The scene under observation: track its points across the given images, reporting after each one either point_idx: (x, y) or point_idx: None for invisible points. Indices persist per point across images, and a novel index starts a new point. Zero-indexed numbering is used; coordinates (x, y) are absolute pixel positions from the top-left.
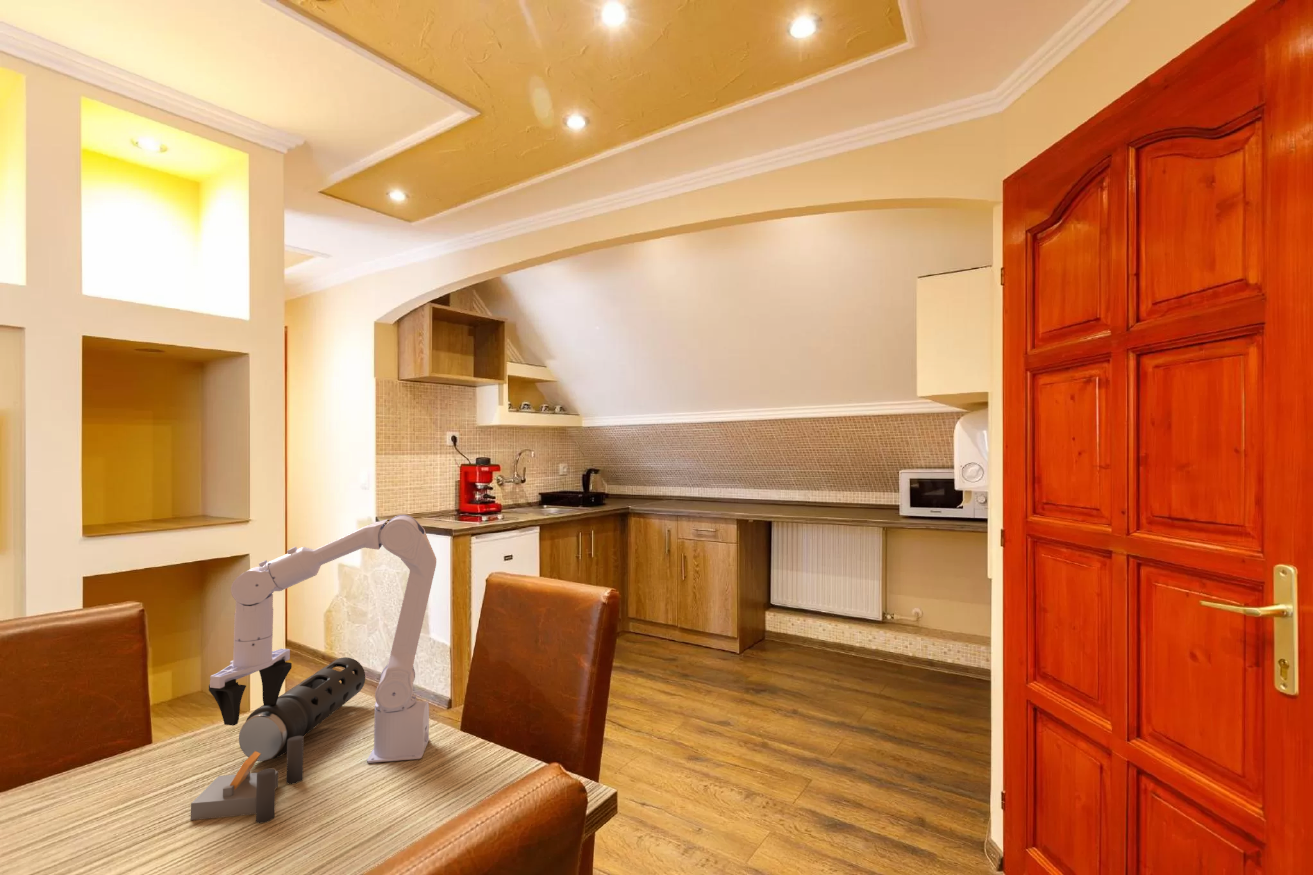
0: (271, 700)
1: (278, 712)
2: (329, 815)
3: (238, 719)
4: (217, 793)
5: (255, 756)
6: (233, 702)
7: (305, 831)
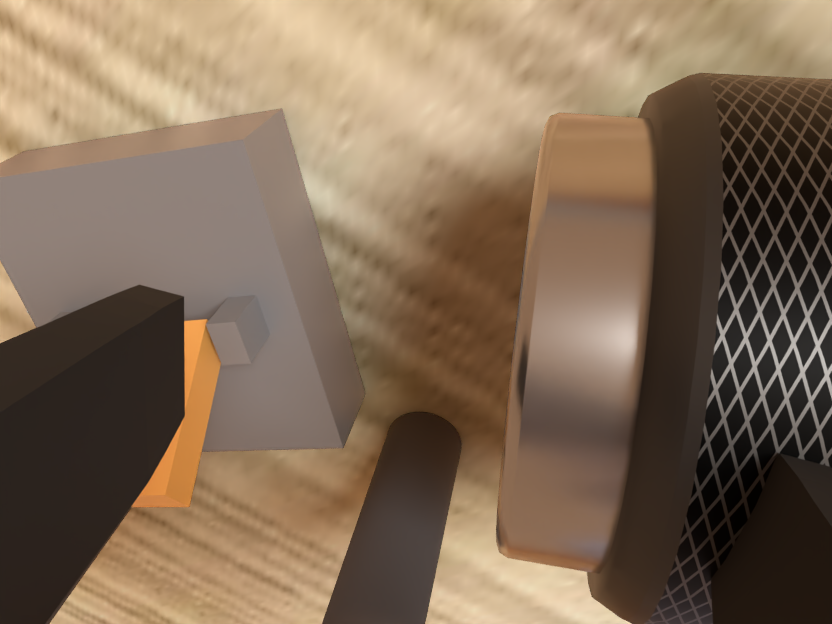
0: (735, 609)
1: (601, 593)
2: (200, 617)
3: (157, 462)
4: (76, 265)
5: (137, 501)
6: None
7: (108, 582)
